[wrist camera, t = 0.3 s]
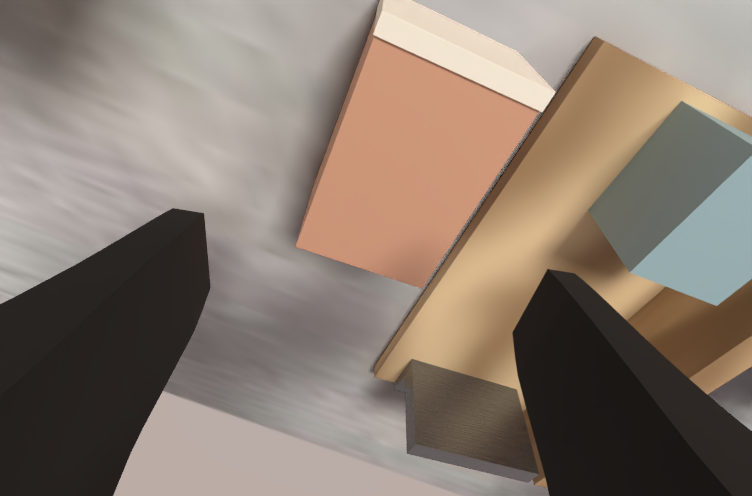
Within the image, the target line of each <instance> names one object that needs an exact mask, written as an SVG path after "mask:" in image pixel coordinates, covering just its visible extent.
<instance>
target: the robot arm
mask: <svg viewBox="0 0 752 496" xmlns="http://www.w3.org/2000/svg"><path fill="white" fill-rule="evenodd" d="M209 290H210V278H209V266H208V255H207V243H206V231H205V220H204V213H199V212H192V211H186V210H180V209H174V208H173V209H171V210H169V211H167V212H165V213H163V214H162V215H160V216H158V217H156V218H155V219H153V220H151V221H150V222H148V223H146V224H145V225H143V226H141V227H140V228H138V229H136V230H135V231H133V232H131V233H130V234H128V235H126V236H125V237H123V238H121V239H119V240H118V241H116V242H114V243H113V244H111V245H109V246H107V247H106V248H104V249H102V250H101V251H99V252H97V253H95V254H94V255H92V256H90V257H89V258H87V259H85V260H83V261H82V262H80V263H78V264H76V265H75V266H73V267H71V268H69V269H67V270H65V271H63V272H61V273H59V274H58V275H56V276H54V277H52V278H50V279H48V280H46V281H44V282H42V283H40V284H39V285H37V286H35V287H33V288H31V289H29V290H27V291H25V292H23V293H22V294H20V295H18V296H16V297H14V298H12V299H10V300H8V301H6V302H4V303H2V304H0V496H113V494H114V492H115V489H116V487H117V485H118V482H119V480H120V477H121V475H122V472H123V470H124V468H125V465H126V463H127V460H128V458H129V456H130V453H131V451H132V449H133V447H134V445H135V443H136V441H137V439H138V437H139V435H140V433H141V431H142V428H143V427H144V425H145V423H146V421H147V419H148V417H149V415H150V414H151V411H152V410H153V408H154V406H155V404H156V402H157V400H158V399H159V397H160V395H161V393H162V391H163V389H164V387H165V385H166V384H167V382H168V380H169V378H170V376H171V374H172V372H173V370H174V369H175V367H176V365H177V363H178V361H179V359H180V357H181V355H182V353H183V351H184V350H185V348H186V346H187V344H188V342H189V340H190V338H191V336H192V334H193V332H194V330H195V328H196V325H197V323H198V320H199V317H200V315H201V312H202V310H203V307H204V304H205V301H206V298H207V296H208V293H209ZM512 334H513V344H514V353H515V360H516V367H517V374H518V379H519V383H520V387H521V390H522V394H523V398H524V402H525V405H526V409H527V413H528V417H529V420H530V424H531V427H532V431H533V435H534V438H535V442H536V446H537V449H538V453H539V456H540V460H541V464H542V467H543V471H544V475H545V478H546V483H547V487H548V491H549V495H550V496H752V431H751V430H749V429H748V428H747V427H746V426H744V425H743V424H742V423H741V422H739V421H738V420H737V419H736V418H734V417H733V416H732V415H731V414H730V413H728V412H727V411H726V410H725V409H723V408H722V407H721V406H720V405H719V404H718V403H716V402H715V401H714V400H713V399H712V398H711V397H709V396H708V395H707V394H706V393H705V392H704V391H703V390H701V389H700V388H699V387H698V386H697V385H696V384H695V383H693V382H692V381H691V380H690V379H689V378H688V377H687V376H685V375H684V374H683V373H682V372H681V371H680V370H679V369H678V368H677V367H675V366H674V365H673V364H672V363H671V362H670V361H669V360H668V359H667V358H666V357H664V356H663V355H662V354H661V353H660V352H659V351H658V350H657V349H656V348H655V347H654V346H653V345H652V344H651V343H649V342H648V341H647V340H646V339H645V338H644V337H643V336H642V335H641V334H640V333H639V332H638V331H637V330H636V329H635V328H634V327H633V326H632V325H631V324H630V323H628V322H627V321H626V320H625V319H624V318H623V317H622V316H621V315H620V314H619V313H618V312H617V311H616V310H615V309H614V308H613V307H612V306H611V305H610V304H609V303H608V302H607V301H606V300H604V299H603V298H602V297H601V296H600V295H599V294H598V293H597V292H596V291H595V290H594V289H593V288H592V287H590V286H589V285H588V284H587V283H586V282H585V281H584V280H582V279H581V278H580V277H579V276H578V275H576V274H575V273H570V272H563V271H557V270H551V269H547V271H546V273H545V275H544V276H543V278H542V280H541V282H540V284H539V285H538V287H537V289H536V291H535V293H534V294H533V296H532V298H531V300H530V302H529V303H528V305H527V307H526V309H525V311H524V312H523V314H522V316H521V318H520V320H519V321H518V323H517V325H516V327H515V329H514V330H513V332H512Z"/></svg>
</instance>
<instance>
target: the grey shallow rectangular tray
mask: <svg viewBox="0 0 752 496" xmlns="http://www.w3.org/2000/svg"><path fill="white" fill-rule="evenodd" d="M394 390H396V391H400V392H404V393H405V402H406V438H407V454H411V455H415V456H419V457H423V458H428V459H432V460H436V461H440V462H444V463H448V464H453V465H457V466H461V467H465V468H469V469H474V470H478V471H482V472H486V473H490V474H494V475H499V476H503V477H507V478H511V479H515V480H520V481H524V482H529V481H531V480H532V479H534V478H535V477H537V476H538V475H539V471H538V467H537V464H536V460H535V456H534V452H533V449H532V445H531V441H530V437H529V433H528V430H527V426H526V422H525V418H524V415H523V411H522V407H521V403H520V399H519V396H518V392H517V389H514V388H510V387H507V386H504V385H500V384H497V383H493V382H490V381H486V380H483V379H480V378H476V377H473V376H469V375H466V374H462V373H459V372H456V371H452V370H449V369H445V368H442V367H438V366H435V365H432V364H428V363H425V362H421V361H418V360H414V359H411V361H410V362H409V363H408V365H407V366H406V367H405V369H404V370H403V371H402V373H401V374H400V376H399V377H398V378H397V380H396V381H395V382H394Z"/></svg>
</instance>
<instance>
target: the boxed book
mask: <svg viewBox="0 0 752 496" xmlns="http://www.w3.org/2000/svg"><path fill="white" fill-rule="evenodd" d="M555 93H556V92H555V91H554V90H553V89H552V88H551V87H550V86H549V85H548V83H547V82H546V81H545V80H544V79H543V78H542V77H541V76H540V75H539V74H538V73H537V72H536V71H535V70H534V69H533V68H532V67H531V66H530V64H529V63H528V62H527V61H526V60H525V59H524V58H523V57H522V56H521V55H520V54H519V53H518V52H517V51H515V50H513V49H511V48H509V47H507V46H505V45H503V44H501V43H499V42H497V41H494V40H492V39H490V38H488V37H486V36H484V35H482V34H480V33H478V32H476V31H474V30H472V29H470V28H468V27H466V26H464V25H462V24H460V23H457V22H455V21H453V20H451V19H449V18H447V17H445V16H443V15H441V14H439V13H437V12H435V11H433V10H431V9H429V8H427V7H425V6H423V5H420V4H418V3H416V2H414V1H412V0H380V1H379V4H378V7H377V13H376V16H375V19H374V22H373V24H372V27H371V30H370V33H369V35H368V38H367V41H366V43H365V46H364V49H363V52H362V54H361V57H360V60H359V63H358V65H357V68H356V71H355V73H354V76H353V79H352V82H351V84H350V87H349V90H348V93H347V95H346V98H345V101H344V103H343V106H342V109H341V112H340V114H339V117H338V120H337V123H336V125H335V128H334V131H333V133H332V136H331V139H330V142H329V144H328V147H327V150H326V153H325V155H324V158H323V161H322V163H321V166H320V169H319V172H318V174H317V177H316V180H315V183H314V185H313V189H312V192H311V195H310V199H309V202H308V206H307V209H306V213H305V216H304V219H303V223H302V226H301V230H300V233H299V237H298V240H297V243H296V247H298V248H301V249H304V250H307V251H310V252H313V253H316V254H319V255H322V256H325V257H328V258H331V259H334V260H337V261H340V262H343V263H346V264H349V265H352V266H355V267H358V268H361V269H364V270H368V271H371V272H374V273H377V274H380V275H383V276H386V277H389V278H392V279H395V280H398V281H401V282H404V283H407V284H410V285H413V286H416V287H419V288H423V287H424V285H425V284H426V282H427V281H428V279H429V277H430V276H431V274H432V273H433V271H434V270H435V268H436V267H437V265H438V264H439V262H440V261H441V259H442V258H443V256H444V255H445V253H446V252H447V250H448V249H449V247H450V246H451V244H452V243H453V241H454V240H455V238H456V237H457V235H458V234H459V232H460V231H461V229H462V228H463V226H464V224H465V223H466V221H467V220H468V218H469V217H470V215H471V214H472V212H473V211H474V209H475V208H476V206H477V205H478V203H479V202H480V200H481V199H482V197H483V196H484V194H485V193H486V191H487V190H488V188H489V187H490V185H491V184H492V182H493V181H494V179H495V178H496V176H497V175H498V173H499V171H500V170H501V168H502V167H503V165H504V164H505V162H506V161H507V159H508V158H509V156H510V155H511V153H512V152H513V150H514V149H515V147H516V146H517V144H518V143H519V141H520V140H521V138H522V137H523V135H524V134H525V132H526V131H527V129H528V128H529V126H530V125H531V123H532V122H533V120H534V118H535V117H536V115H537V114H538V112H539V111H541V112H543V111H544V109H545V108H546V106H547V105H548V103H549V102H550V100H551V99H552V97H553V96H554V94H555Z"/></svg>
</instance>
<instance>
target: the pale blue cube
mask: <svg viewBox="0 0 752 496" xmlns="http://www.w3.org/2000/svg"><path fill="white" fill-rule="evenodd" d="M588 211H589V213H590V214H591V216H592V217H593V219H594V220H595V222H596V223H597V225H598V226H599V228H600V229H601V231H602V232H603V234H604V235H605V237H606V238H607V240H608V241H609V243H610V244H611V246H612V247H613V249H614V250H615V252H616V253H617V255H618V256H619V258H620V259H621V261H622V262H623V264H624V265H625V266H626V268H627V269H628V271H629V272H630V273H632V274H635V275H637V276H640V277H642V278H645V279H648V280H650V281H653V282H655V283H658V284H661V285H663V286H666V287H669V288H671V289H674V290H676V291H679V292H682V293H684V294H687V295H689V296H692V297H695V298H697V299H700V300H702V301H705V302H708V303H710V304H713V305H715V306H717V305H719V304H720V303H721V302H722V301H724V300H725V299H726V298H728V297H729V296H730V295H732V294H733V293H734V292H735V291H737V290H738V289H739V288H741V287H742V286H743V285H745V284H746V283H747V282H748V281H750V280H751V279H752V136H750V135H748V134H746V133H744V132H742V131H740V130H738V129H736V128H734V127H732V126H730V125H728V124H727V123H725V122H723V121H721V120H719V119H717V118H715V117H713V116H711V115H709V114H707V113H705V112H703V111H701V110H699V109H697V108H695V107H693V106H691V105H689V104H687V103H685V102H683V101H681V102H680V103H679V105H678V106H677V107H676V108H675V109H674V110H673V112H672V113H671V114H670V115H669V116H668V117H667V119H666V120H665V121H664V122H663V123H662V124H661V126H660V127H659V128H658V129H657V130H656V131H655V133H654V134H653V135H652V136H651V137H650V138H649V140H648V141H647V142H646V143H645V144H644V145H643V147H642V148H641V149H640V150H639V151H638V152H637V154H636V155H635V156H634V157H633V158H632V159H631V161H630V162H629V163H628V164H627V165H626V166H625V168H624V169H623V170H622V171H621V172H620V173H619V175H618V176H617V177H616V178H615V179H614V180H613V182H612V183H611V184H610V185H609V186H608V187H607V189H606V190H605V191H604V192H603V193H602V194H601V196H600V197H599V198H598V199H597V200H596V201H595V203H594V204H593V205H592V206H591V207H590V208H589V210H588Z"/></svg>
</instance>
